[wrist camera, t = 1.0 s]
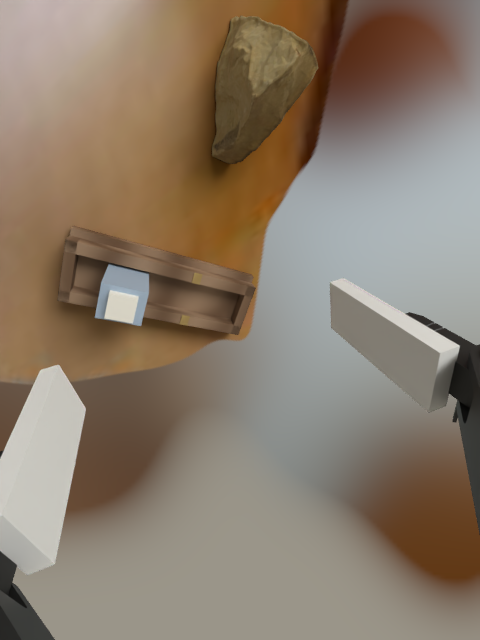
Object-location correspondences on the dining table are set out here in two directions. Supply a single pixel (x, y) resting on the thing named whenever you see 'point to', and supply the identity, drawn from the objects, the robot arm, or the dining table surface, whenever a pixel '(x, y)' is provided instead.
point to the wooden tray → (157, 281)
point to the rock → (257, 84)
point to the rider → (123, 295)
